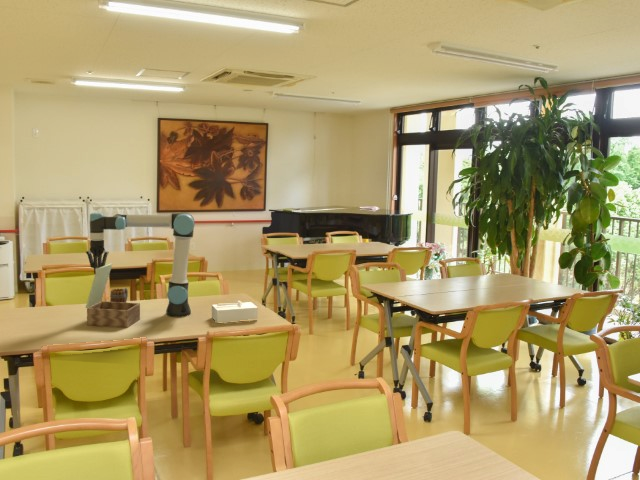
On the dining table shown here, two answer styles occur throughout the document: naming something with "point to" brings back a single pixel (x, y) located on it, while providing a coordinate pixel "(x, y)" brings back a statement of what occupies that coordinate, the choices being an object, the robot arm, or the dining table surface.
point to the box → (113, 314)
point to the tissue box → (234, 311)
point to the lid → (98, 285)
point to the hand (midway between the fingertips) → (98, 279)
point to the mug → (119, 295)
